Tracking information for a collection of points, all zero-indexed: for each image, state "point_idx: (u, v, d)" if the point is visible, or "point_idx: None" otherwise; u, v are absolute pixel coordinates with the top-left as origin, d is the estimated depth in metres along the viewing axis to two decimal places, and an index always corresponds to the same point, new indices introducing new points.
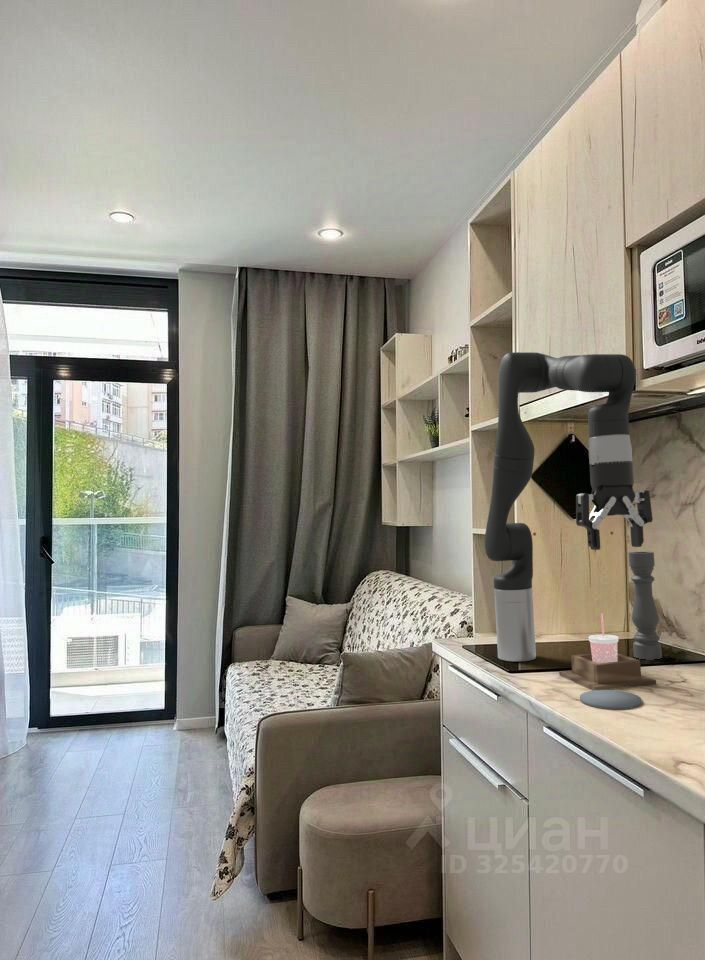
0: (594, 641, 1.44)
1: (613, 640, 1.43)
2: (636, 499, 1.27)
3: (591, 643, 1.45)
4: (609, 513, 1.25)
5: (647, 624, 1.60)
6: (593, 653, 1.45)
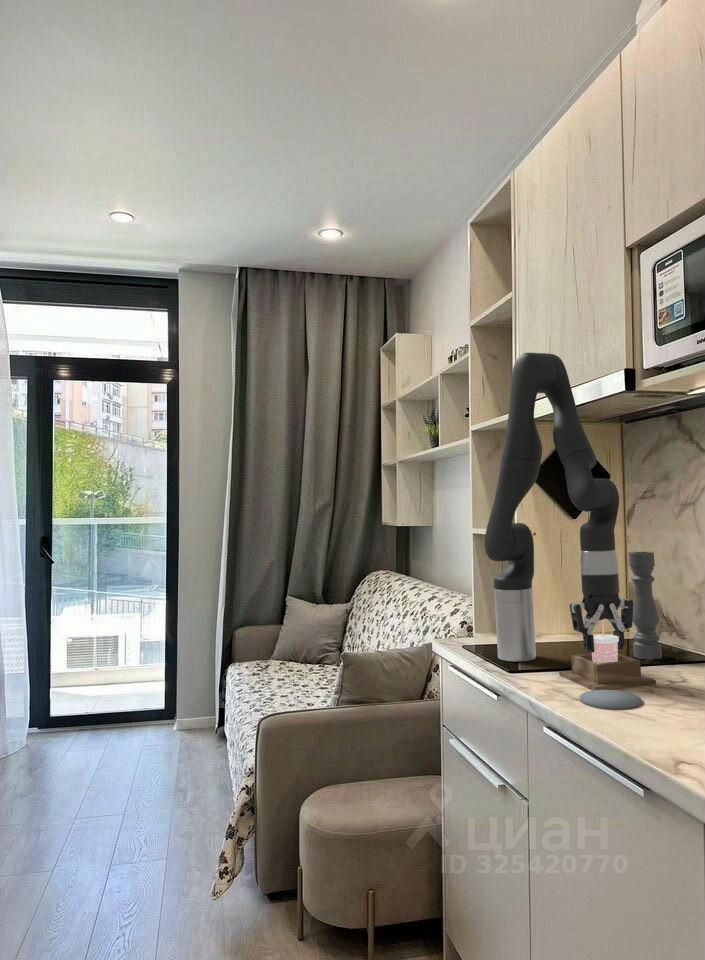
0: (595, 641, 1.44)
1: (613, 640, 1.43)
2: (621, 606, 1.46)
3: None
4: None
5: (647, 624, 1.60)
6: (593, 653, 1.45)
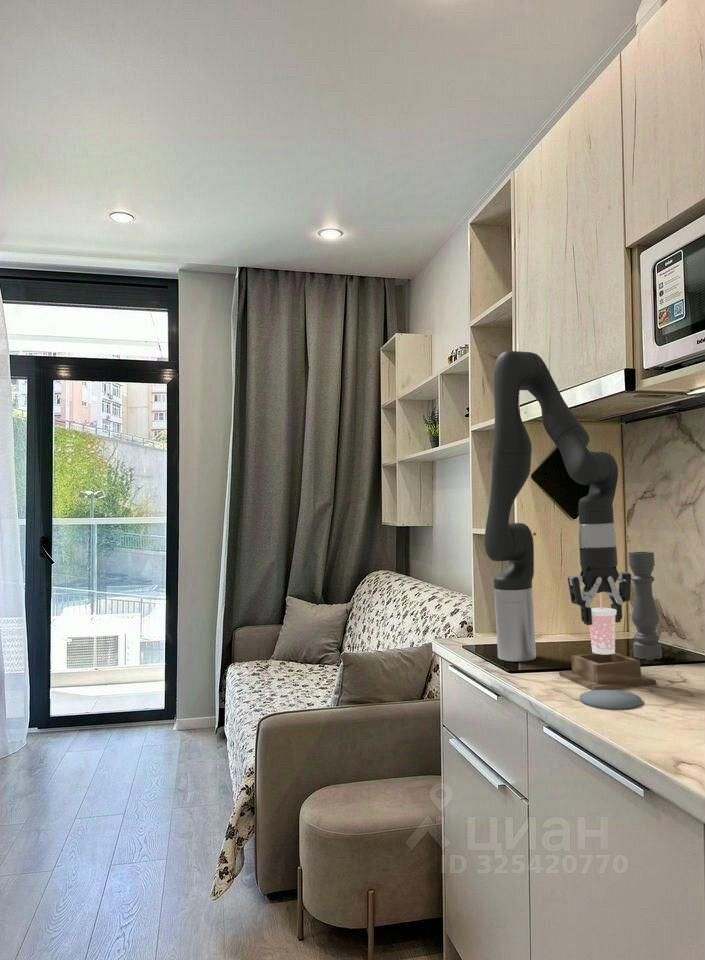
0: (592, 614, 1.44)
1: (611, 613, 1.43)
2: (619, 579, 1.47)
3: None
4: None
5: (647, 624, 1.60)
6: (591, 626, 1.45)
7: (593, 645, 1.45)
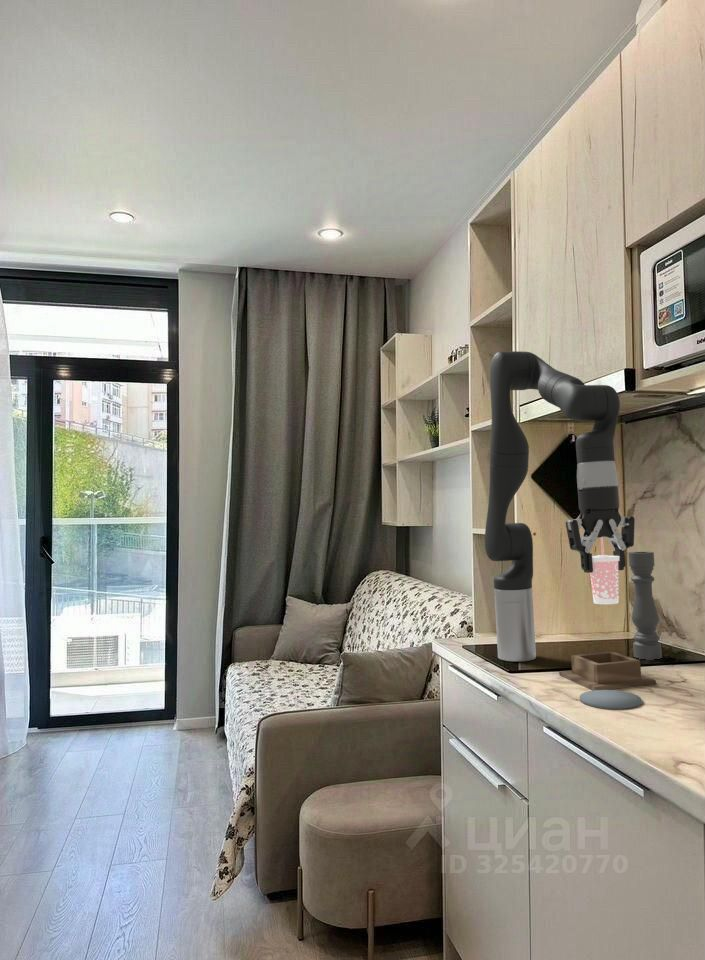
0: (593, 560, 1.32)
1: (614, 558, 1.30)
2: (621, 523, 1.35)
3: None
4: None
5: (647, 624, 1.60)
6: (592, 574, 1.32)
7: (595, 595, 1.32)
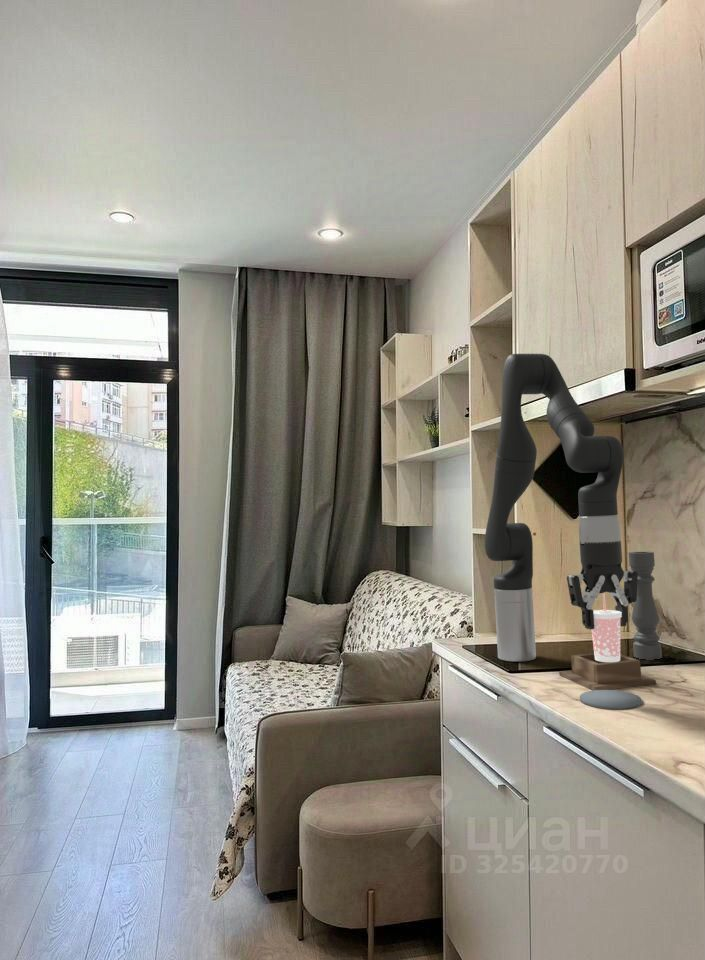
0: (595, 617, 1.29)
1: (616, 615, 1.28)
2: (624, 578, 1.32)
3: None
4: None
5: (647, 624, 1.60)
6: (593, 630, 1.30)
7: (596, 652, 1.29)
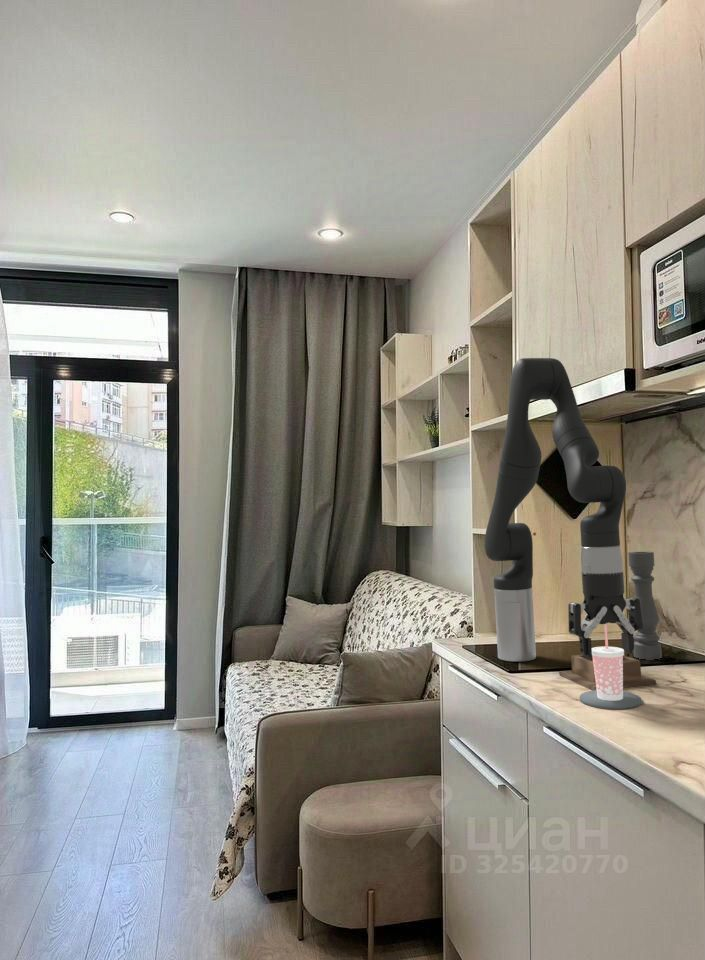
0: (597, 655, 1.29)
1: (618, 653, 1.27)
2: (627, 606, 1.31)
3: (593, 657, 1.30)
4: (600, 622, 1.29)
5: (647, 624, 1.60)
6: (595, 668, 1.29)
7: (598, 690, 1.29)
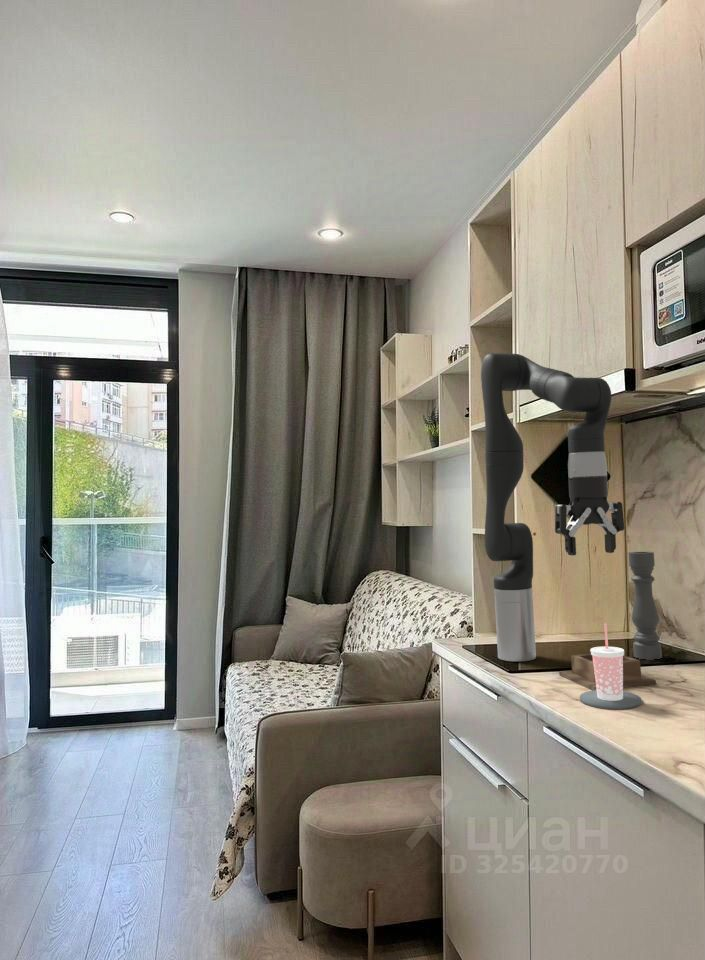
0: (597, 655, 1.29)
1: (618, 654, 1.27)
2: (610, 509, 1.41)
3: (593, 657, 1.30)
4: (585, 522, 1.38)
5: (647, 624, 1.60)
6: (596, 668, 1.29)
7: (598, 690, 1.29)
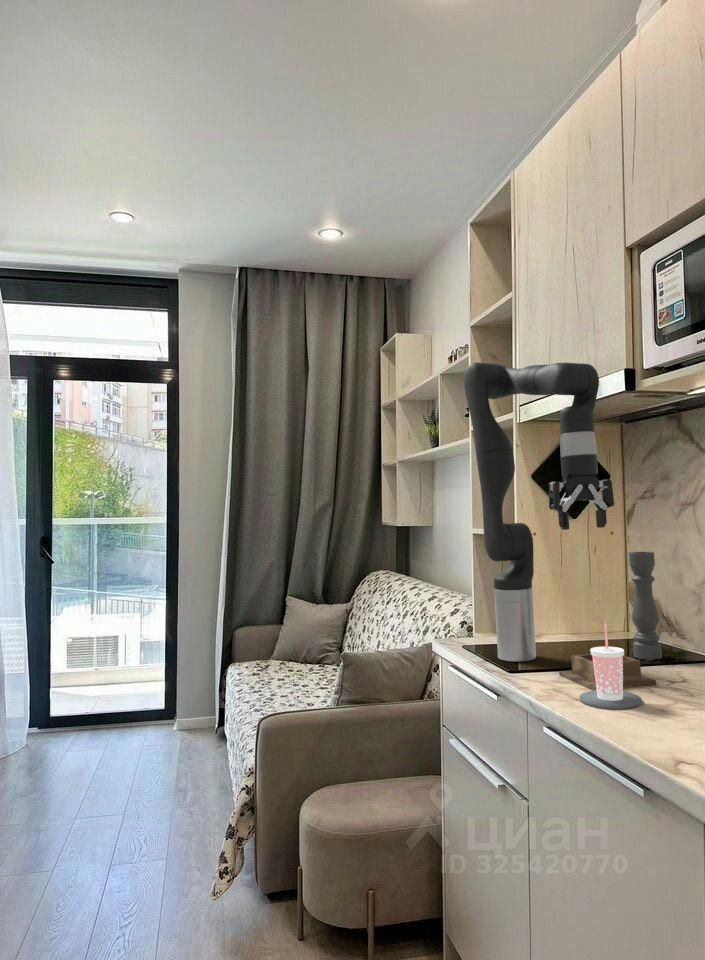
0: (597, 655, 1.29)
1: (618, 653, 1.27)
2: (600, 487, 1.49)
3: (593, 657, 1.30)
4: (577, 498, 1.47)
5: (647, 624, 1.60)
6: (595, 668, 1.29)
7: (598, 690, 1.29)
